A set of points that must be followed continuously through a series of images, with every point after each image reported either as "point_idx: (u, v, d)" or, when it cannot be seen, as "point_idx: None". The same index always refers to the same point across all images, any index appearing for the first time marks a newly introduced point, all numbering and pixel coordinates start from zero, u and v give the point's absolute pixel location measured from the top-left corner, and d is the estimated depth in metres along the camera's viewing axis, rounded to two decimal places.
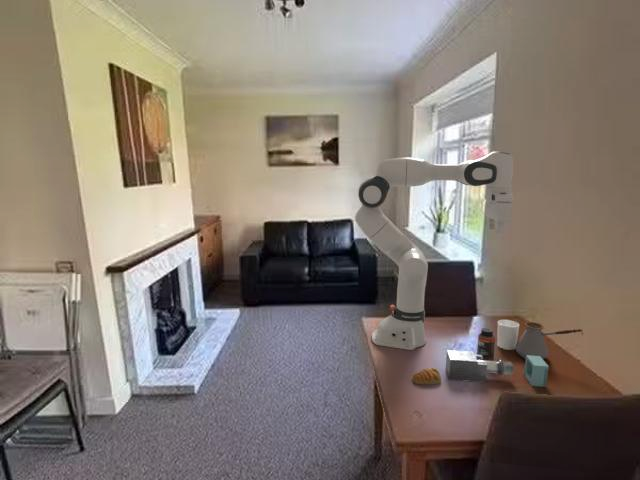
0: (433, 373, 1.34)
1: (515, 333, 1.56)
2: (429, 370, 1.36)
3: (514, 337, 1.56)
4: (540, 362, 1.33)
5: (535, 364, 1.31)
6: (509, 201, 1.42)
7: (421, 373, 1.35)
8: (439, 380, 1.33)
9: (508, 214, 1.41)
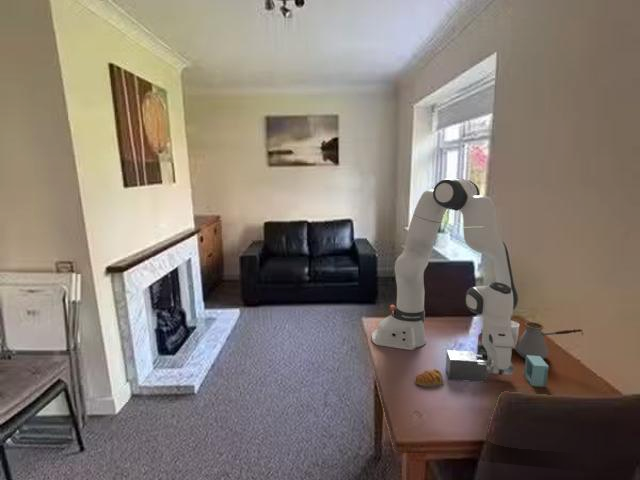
0: (435, 374, 1.33)
1: (515, 333, 1.56)
2: (431, 371, 1.35)
3: (514, 337, 1.56)
4: (540, 362, 1.33)
5: (535, 364, 1.31)
6: (509, 346, 1.26)
7: (424, 375, 1.34)
8: (442, 381, 1.32)
9: (507, 361, 1.25)
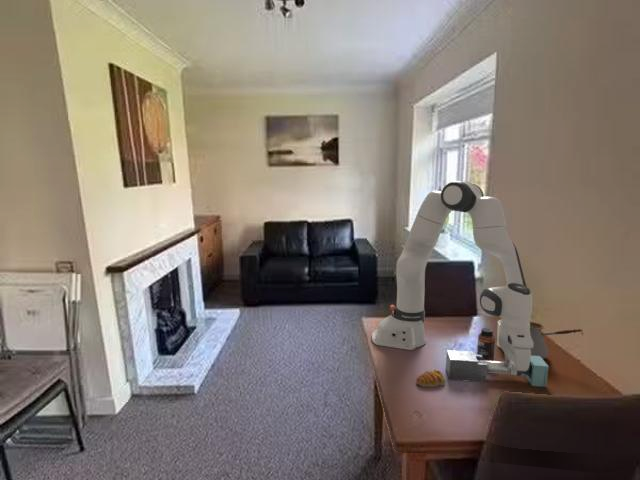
0: (436, 375, 1.33)
1: None
2: (432, 372, 1.34)
3: None
4: (540, 362, 1.33)
5: (535, 364, 1.31)
6: (528, 347, 1.25)
7: (425, 375, 1.33)
8: (443, 382, 1.32)
9: (527, 363, 1.25)
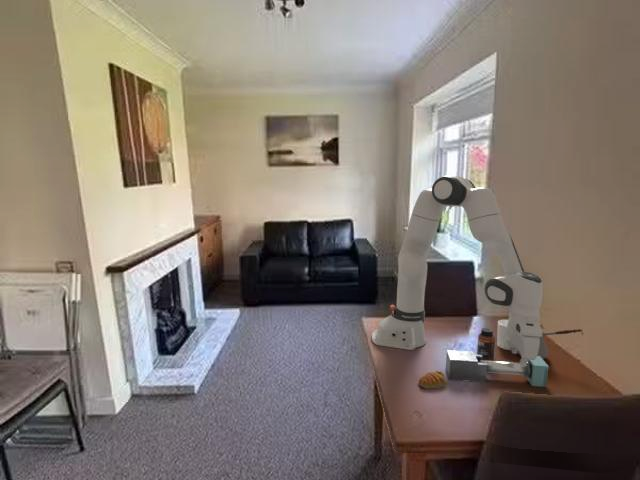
0: (439, 376, 1.32)
1: None
2: (434, 373, 1.34)
3: None
4: (540, 362, 1.33)
5: (535, 364, 1.31)
6: (537, 336, 1.24)
7: (427, 377, 1.32)
8: (445, 383, 1.32)
9: (535, 351, 1.23)
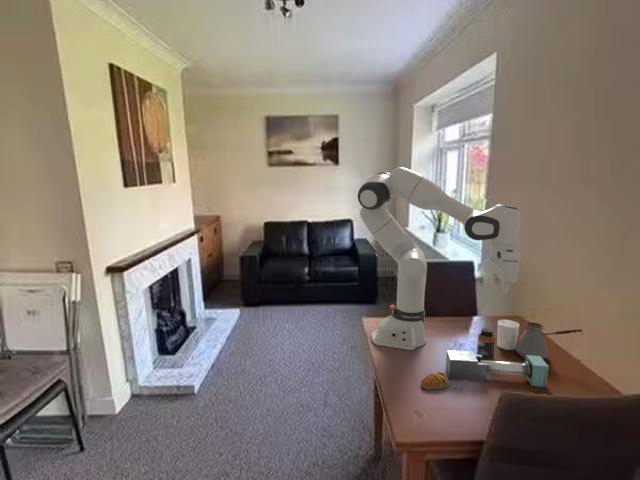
0: (441, 377, 1.31)
1: (515, 333, 1.56)
2: (436, 374, 1.33)
3: (514, 337, 1.56)
4: (540, 362, 1.33)
5: (535, 364, 1.31)
6: (516, 260, 1.31)
7: (429, 378, 1.31)
8: (447, 384, 1.31)
9: (515, 274, 1.31)
